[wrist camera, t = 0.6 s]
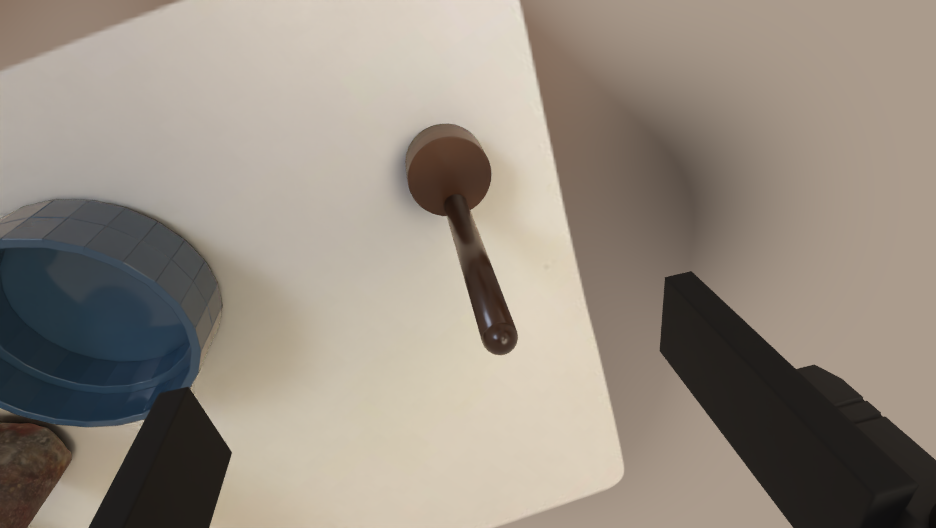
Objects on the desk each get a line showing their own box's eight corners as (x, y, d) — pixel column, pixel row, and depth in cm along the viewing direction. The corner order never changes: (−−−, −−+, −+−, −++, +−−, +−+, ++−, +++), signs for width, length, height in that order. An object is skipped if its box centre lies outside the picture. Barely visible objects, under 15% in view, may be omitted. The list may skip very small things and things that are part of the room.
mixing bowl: (-75, 224, 31) (-162, 274, 26) (161, 173, 32) (121, 211, 27) (70, 386, 39) (25, 448, 34) (255, 342, 40) (238, 397, 35)
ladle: (396, 133, 33) (413, 272, 18) (476, 115, 33) (559, 238, 18) (415, 206, 36) (443, 377, 21) (488, 189, 36) (567, 347, 21)
